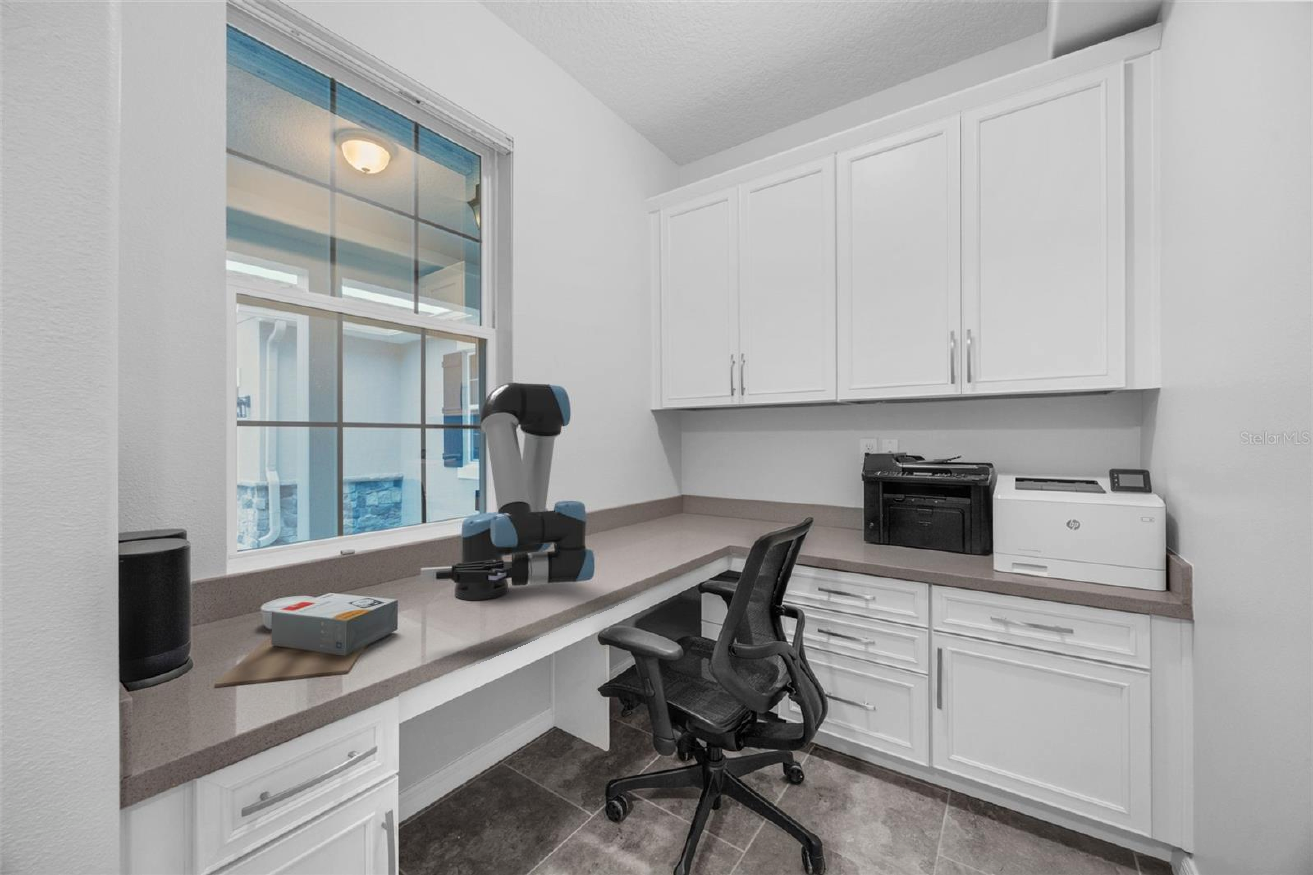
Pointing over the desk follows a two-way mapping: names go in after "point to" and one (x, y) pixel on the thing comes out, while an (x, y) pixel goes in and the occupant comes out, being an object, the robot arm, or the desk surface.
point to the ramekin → (279, 607)
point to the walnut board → (286, 665)
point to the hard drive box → (334, 623)
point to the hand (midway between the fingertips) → (421, 574)
